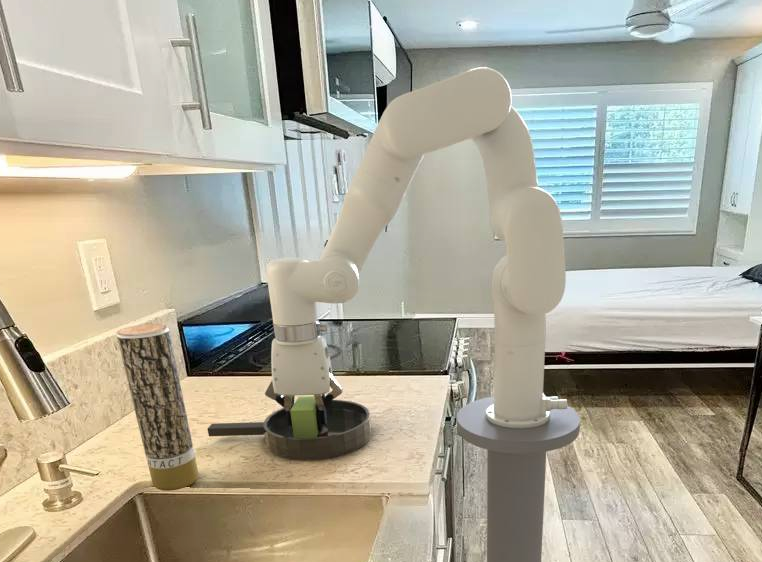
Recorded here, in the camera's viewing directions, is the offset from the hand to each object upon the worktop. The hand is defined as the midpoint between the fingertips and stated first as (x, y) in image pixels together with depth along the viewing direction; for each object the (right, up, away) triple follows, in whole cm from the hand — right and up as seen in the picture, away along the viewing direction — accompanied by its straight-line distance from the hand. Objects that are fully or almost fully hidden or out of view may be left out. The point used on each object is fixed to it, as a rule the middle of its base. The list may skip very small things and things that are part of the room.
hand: (308, 427), depth 106 cm
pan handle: (-13, -1, 0) cm, 13 cm away
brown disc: (+1, -1, +1) cm, 2 cm away
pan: (+2, -2, +1) cm, 3 cm away
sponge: (0, -1, 0) cm, 1 cm away
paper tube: (-18, -9, -14) cm, 24 cm away
